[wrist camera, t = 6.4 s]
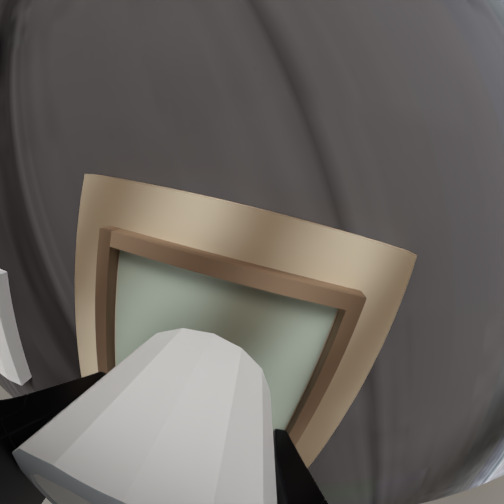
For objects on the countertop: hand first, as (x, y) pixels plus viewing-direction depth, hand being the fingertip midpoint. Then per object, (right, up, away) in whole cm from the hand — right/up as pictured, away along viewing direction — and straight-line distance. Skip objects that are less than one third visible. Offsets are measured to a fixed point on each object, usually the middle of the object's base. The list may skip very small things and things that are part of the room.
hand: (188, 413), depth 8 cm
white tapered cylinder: (0, 0, +2) cm, 2 cm away
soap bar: (-17, 0, +6) cm, 18 cm away
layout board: (0, +1, +4) cm, 4 cm away
